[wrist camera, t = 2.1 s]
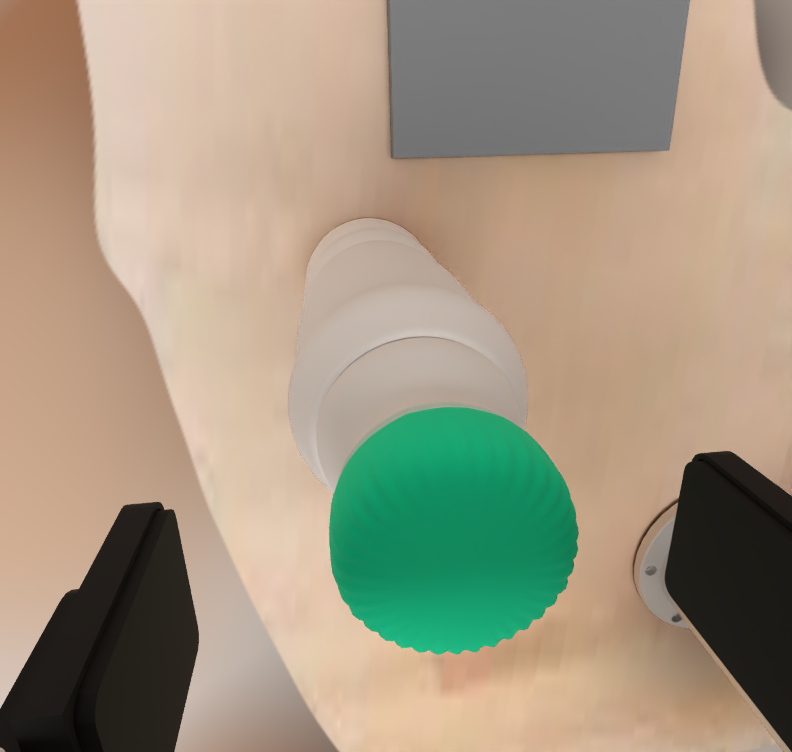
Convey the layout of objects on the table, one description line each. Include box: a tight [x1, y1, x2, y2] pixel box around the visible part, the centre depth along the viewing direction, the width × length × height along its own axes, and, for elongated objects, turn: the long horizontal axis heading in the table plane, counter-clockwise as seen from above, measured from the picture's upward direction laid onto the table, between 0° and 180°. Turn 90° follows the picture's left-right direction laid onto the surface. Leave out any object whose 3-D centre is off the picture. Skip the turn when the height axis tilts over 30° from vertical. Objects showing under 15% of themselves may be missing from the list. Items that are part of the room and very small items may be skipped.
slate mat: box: [387, 0, 690, 158], centre depth 29 cm, size 15×13×1 cm
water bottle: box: [288, 218, 579, 655], centre depth 22 cm, size 7×7×25 cm
